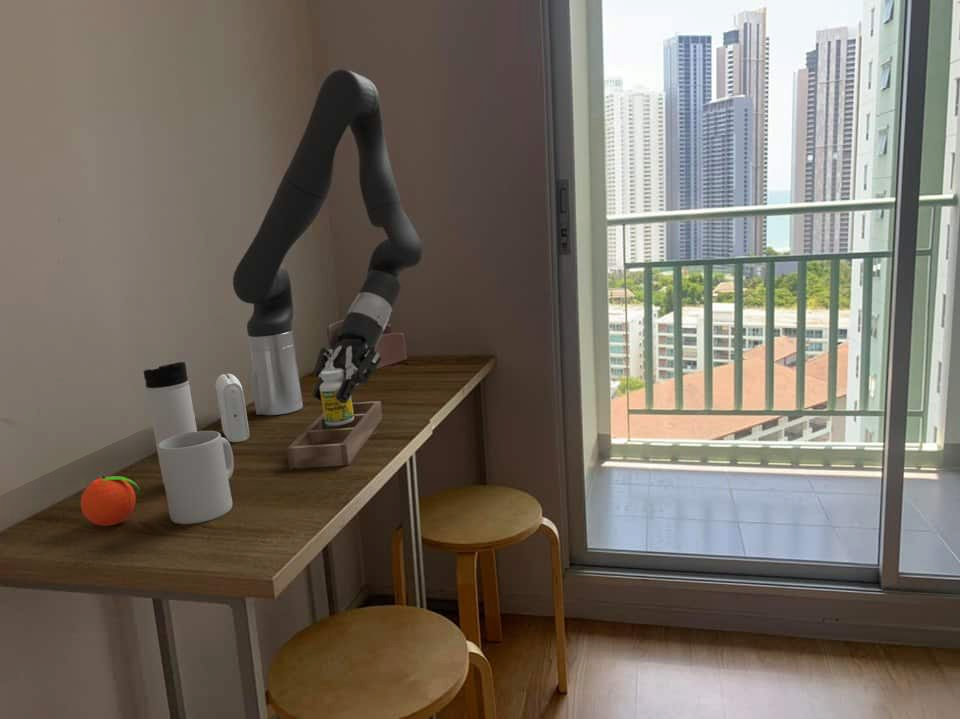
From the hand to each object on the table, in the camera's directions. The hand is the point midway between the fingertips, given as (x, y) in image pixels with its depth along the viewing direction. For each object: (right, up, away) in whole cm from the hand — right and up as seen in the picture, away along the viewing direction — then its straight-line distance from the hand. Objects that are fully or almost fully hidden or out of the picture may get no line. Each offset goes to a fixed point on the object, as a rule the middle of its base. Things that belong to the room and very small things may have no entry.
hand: (328, 399), depth 132 cm
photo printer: (-21, -8, +13) cm, 26 cm away
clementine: (-25, -16, -27) cm, 40 cm away
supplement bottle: (+2, -4, +2) cm, 5 cm away
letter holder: (-3, +5, +71) cm, 71 cm away
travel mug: (-21, -13, -13) cm, 28 cm away
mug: (-12, -15, -24) cm, 31 cm away
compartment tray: (+2, -8, +3) cm, 8 cm away
